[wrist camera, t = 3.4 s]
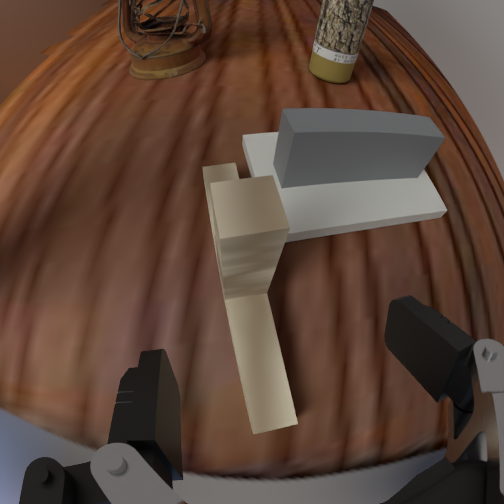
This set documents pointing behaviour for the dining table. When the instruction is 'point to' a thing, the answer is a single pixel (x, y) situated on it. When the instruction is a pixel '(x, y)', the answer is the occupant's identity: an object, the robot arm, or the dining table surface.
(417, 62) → the dining table surface
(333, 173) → the ridge stand
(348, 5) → the bark print canister
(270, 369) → the birch T-bar
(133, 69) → the lantern
